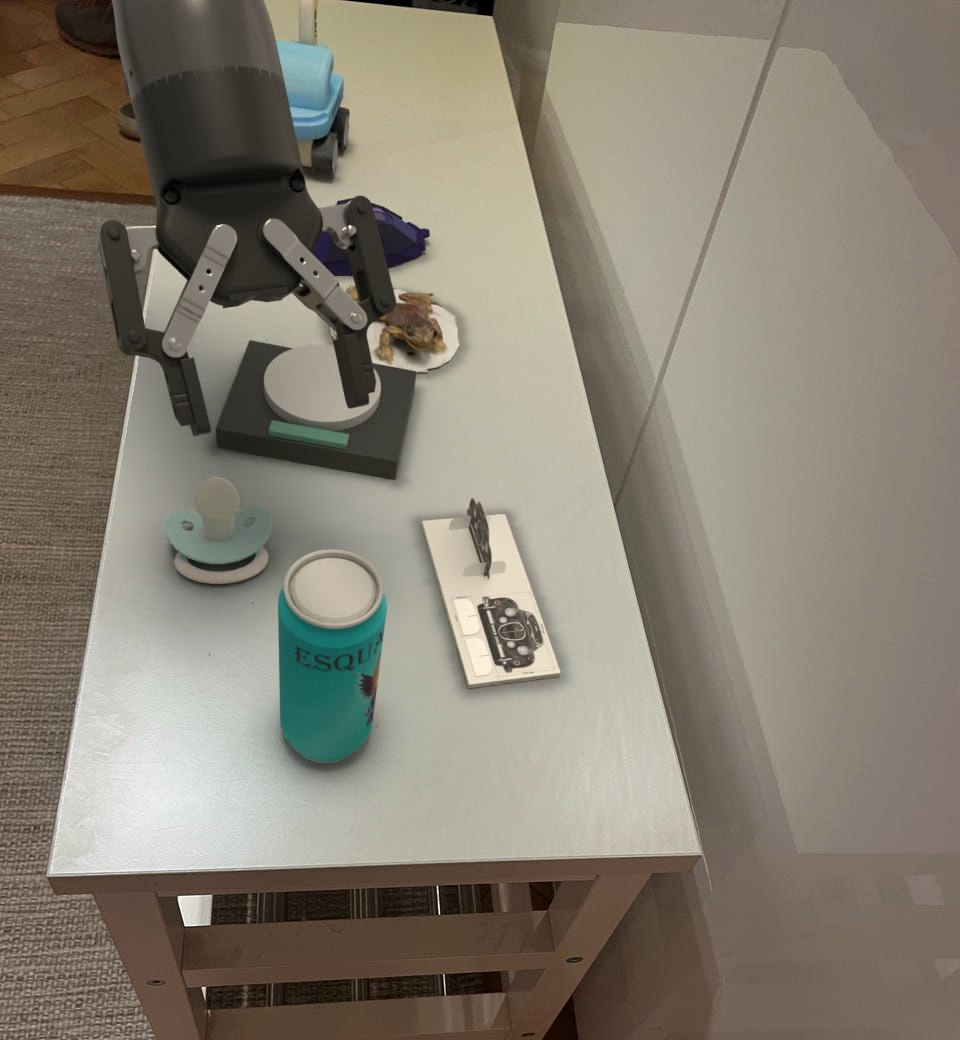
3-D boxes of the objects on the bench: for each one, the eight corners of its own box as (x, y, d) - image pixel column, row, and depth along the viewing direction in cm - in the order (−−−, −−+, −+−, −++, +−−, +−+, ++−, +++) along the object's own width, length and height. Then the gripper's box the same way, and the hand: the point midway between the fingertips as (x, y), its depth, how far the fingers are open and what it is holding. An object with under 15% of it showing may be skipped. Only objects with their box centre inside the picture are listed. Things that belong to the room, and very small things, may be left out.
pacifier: (277, 585, 70) (269, 520, 73) (276, 527, 65) (268, 460, 68) (169, 592, 68) (166, 525, 71) (159, 534, 63) (156, 465, 66)
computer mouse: (264, 223, 95) (263, 184, 92) (410, 212, 100) (414, 174, 97) (290, 281, 90) (290, 242, 87) (442, 267, 95) (447, 229, 92)
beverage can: (367, 776, 62) (385, 635, 50) (274, 768, 61) (270, 624, 50) (374, 699, 66) (392, 550, 54) (286, 691, 65) (285, 538, 53)
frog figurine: (486, 359, 88) (493, 323, 85) (363, 387, 83) (365, 350, 80) (429, 284, 93) (434, 247, 90) (310, 306, 89) (311, 268, 86)
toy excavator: (360, 112, 110) (370, -66, 96) (331, 190, 100) (337, 4, 86) (283, 96, 110) (282, -85, 96) (246, 173, 100) (239, -17, 86)
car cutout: (421, 524, 75) (427, 482, 72) (504, 517, 77) (514, 476, 73) (467, 688, 67) (477, 650, 64) (559, 676, 69) (574, 638, 65)
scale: (216, 447, 77) (214, 418, 74) (250, 359, 83) (248, 329, 81) (395, 479, 78) (398, 451, 75) (414, 389, 84) (417, 361, 82)
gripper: (57, 66, 43) (153, 441, 47) (366, 52, 48) (431, 391, 52) (55, 125, 50) (139, 448, 53) (326, 107, 55) (386, 403, 58)
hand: (283, 420), depth 52 cm, fingers open, 8 cm apart
